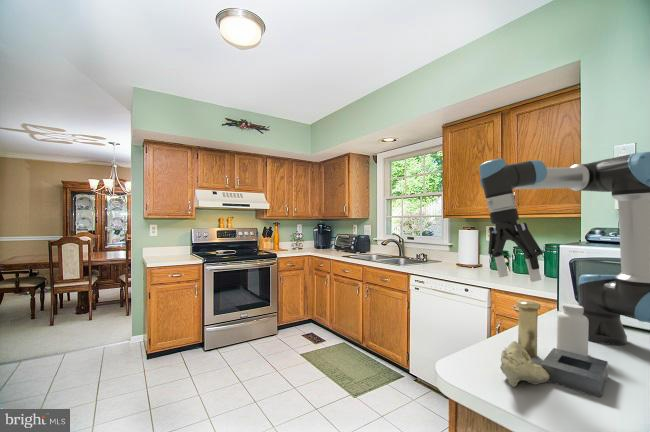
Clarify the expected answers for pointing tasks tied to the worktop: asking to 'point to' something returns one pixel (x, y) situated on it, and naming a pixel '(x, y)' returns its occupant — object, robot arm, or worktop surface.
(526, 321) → the brass flanged peg
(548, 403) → the worktop surface
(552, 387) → the worktop surface
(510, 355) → the beige rock
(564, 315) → the pill bottle
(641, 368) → the worktop surface
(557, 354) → the block
